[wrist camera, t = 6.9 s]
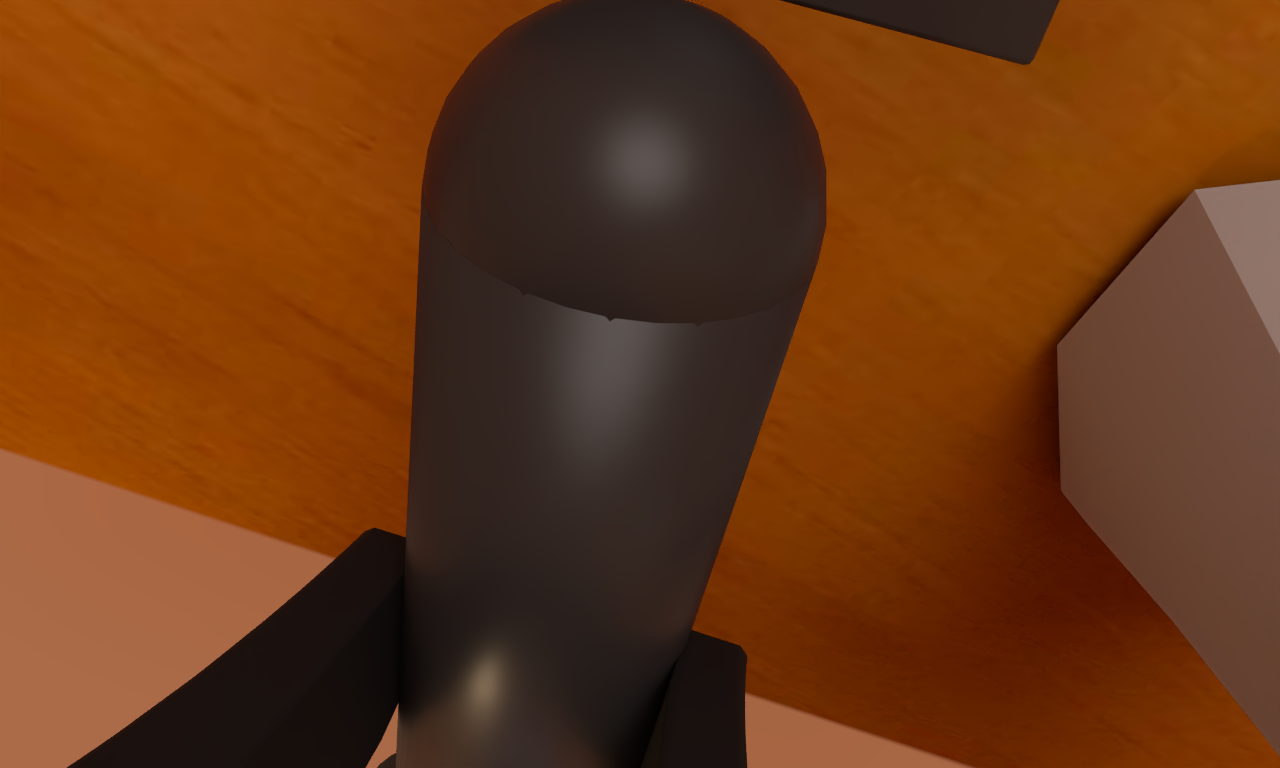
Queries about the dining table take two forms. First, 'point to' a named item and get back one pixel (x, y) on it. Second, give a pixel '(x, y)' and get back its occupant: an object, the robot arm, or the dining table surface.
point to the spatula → (603, 357)
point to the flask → (1190, 431)
